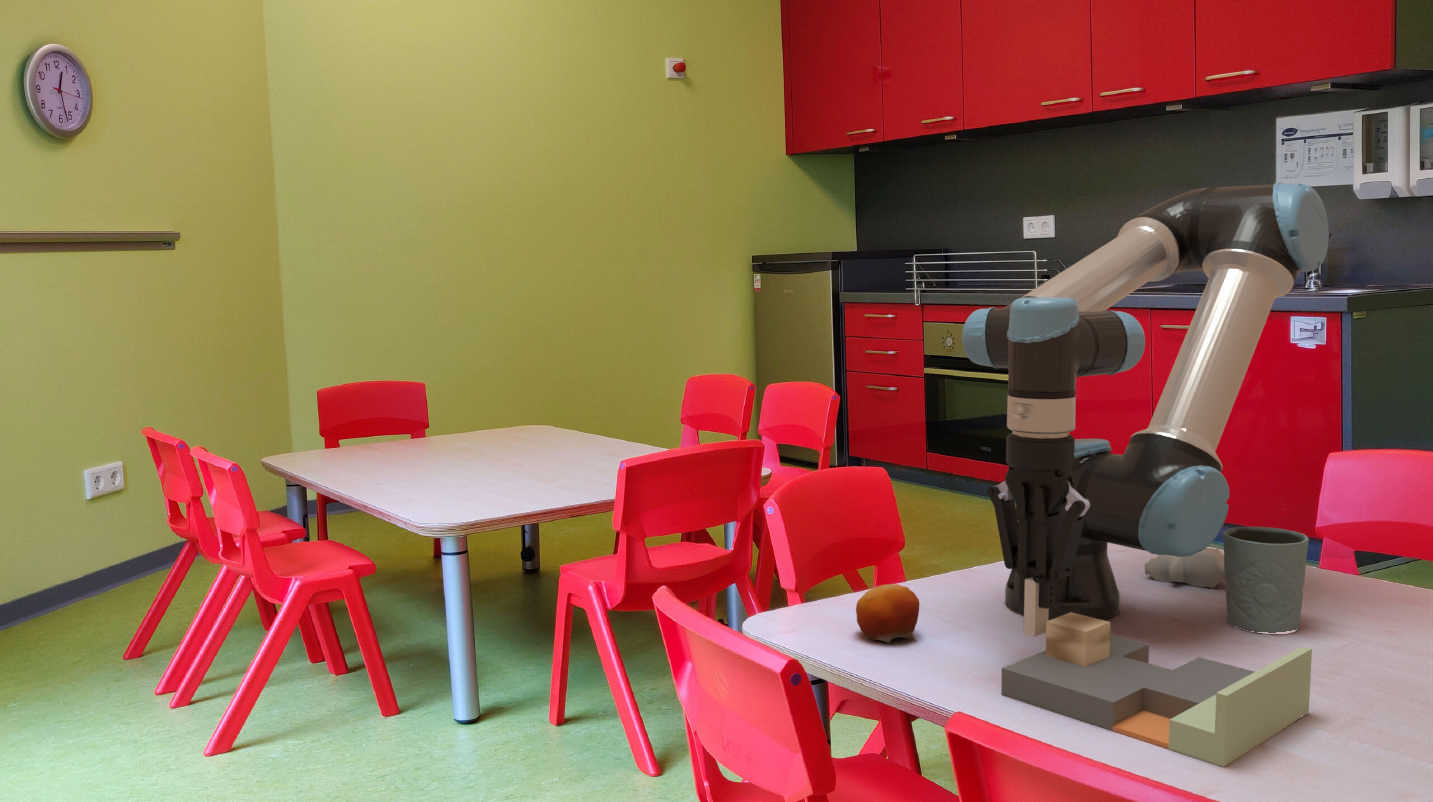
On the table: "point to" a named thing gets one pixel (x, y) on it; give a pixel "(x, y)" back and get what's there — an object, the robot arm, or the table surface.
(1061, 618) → the block
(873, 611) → the fruit
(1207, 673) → the box
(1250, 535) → the embossed grey cup
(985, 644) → the table surface
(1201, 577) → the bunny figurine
